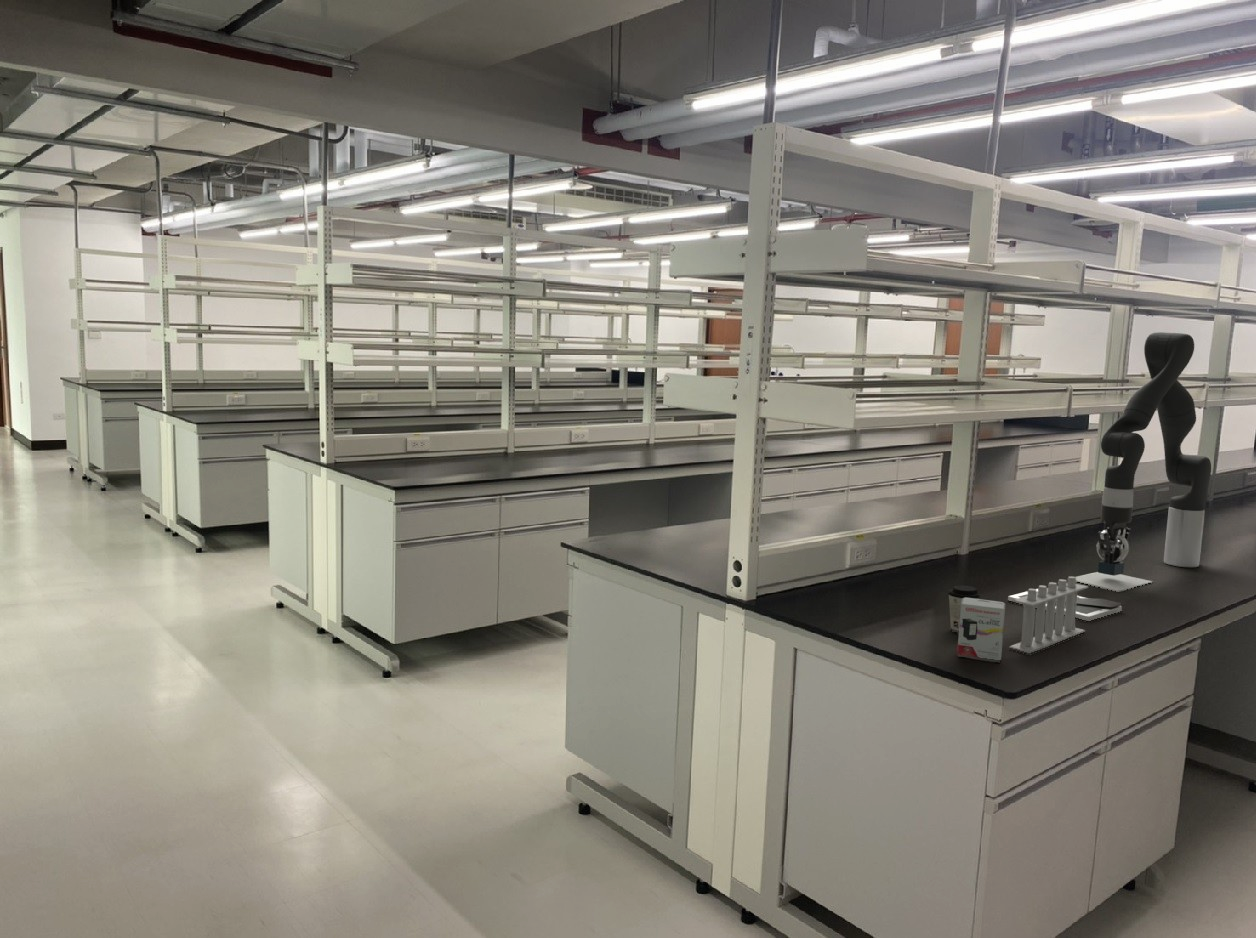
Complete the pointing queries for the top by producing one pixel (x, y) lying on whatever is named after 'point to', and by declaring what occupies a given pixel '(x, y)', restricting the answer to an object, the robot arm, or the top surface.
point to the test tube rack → (1049, 615)
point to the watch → (1113, 568)
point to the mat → (1111, 581)
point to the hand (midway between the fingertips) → (1111, 565)
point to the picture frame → (1085, 606)
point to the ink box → (981, 628)
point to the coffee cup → (959, 602)
